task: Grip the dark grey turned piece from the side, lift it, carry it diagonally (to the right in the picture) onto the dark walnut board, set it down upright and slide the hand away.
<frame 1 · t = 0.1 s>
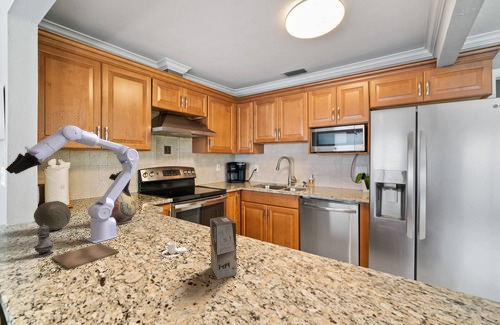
hand: (10, 171, 80), 32 cm above the countertop, tool tilted 50°, fingers open, 7 cm apart
teacup and saucer: (174, 257, 85), on the countertop
coffee box: (223, 271, 73), on the countertop
grey rounded lump: (53, 230, 118), on the countertop
dark grey turned piece: (44, 255, 87), on the countertop
walnut board: (86, 255, 86), on the countertop
ceramic jug: (123, 222, 131), on the countertop
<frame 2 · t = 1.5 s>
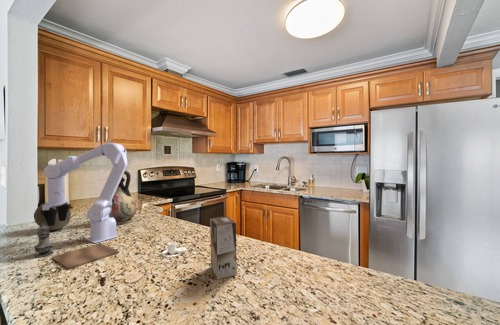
hand: (57, 223, 100), 8 cm above the countertop, tool pointing down, fingers open, 7 cm apart
nothing on the countertop moved.
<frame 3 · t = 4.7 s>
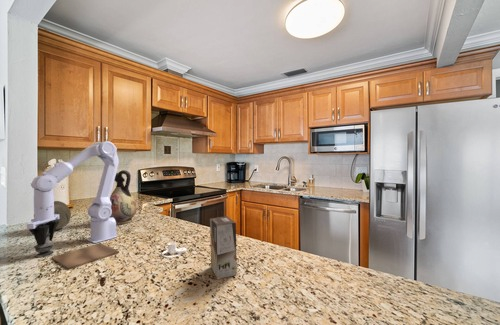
hand: (45, 242, 87), 4 cm above the countertop, tool pointing down, fingers closed on dark grey turned piece, 3 cm apart
dark grey turned piece: (44, 254, 87), on the countertop, touching gripper
everything else where it was.
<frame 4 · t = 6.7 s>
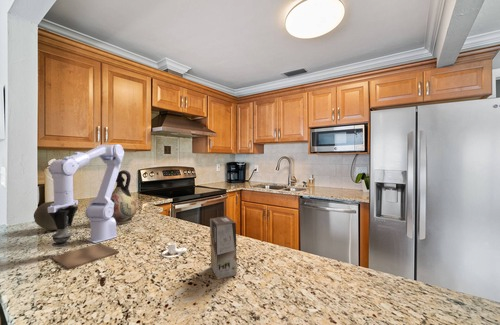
hand: (64, 227, 87), 10 cm above the countertop, tool pointing down, fingers closed on dark grey turned piece, 3 cm apart
dark grey turned piece: (61, 244, 86), point 4 cm above the countertop, touching gripper
everything else where it was.
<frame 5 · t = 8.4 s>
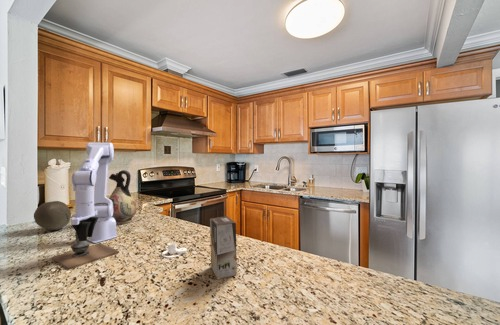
hand: (85, 238, 86), 6 cm above the countertop, tool pointing down, fingers closed on dark grey turned piece, 3 cm apart
dark grey turned piece: (80, 254, 85), resting on walnut board, touching gripper
everything else where it was.
when the fingers open (6 cm above the countertop, at t = 8.8 s): dark grey turned piece stays where it is, resting on walnut board.
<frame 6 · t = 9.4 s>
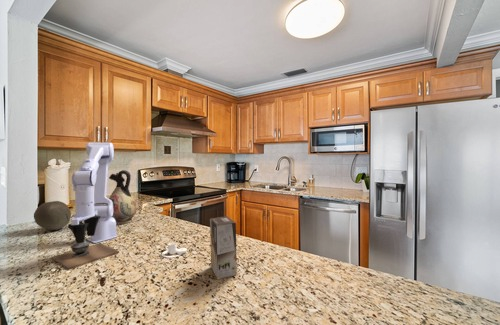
hand: (85, 239, 86), 6 cm above the countertop, tool pointing down, fingers open, 7 cm apart
dark grey turned piece: (80, 254, 85), resting on walnut board
everything else where it was.
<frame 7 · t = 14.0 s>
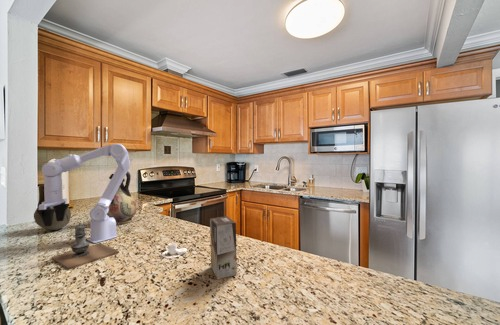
hand: (54, 223, 96), 9 cm above the countertop, tool pointing down, fingers open, 7 cm apart
nothing on the countertop moved.
at the end: dark grey turned piece inside the target area on the walnut board (1.9 cm from its centre), point 0.4 cm above the walnut board's base; dark grey turned piece tilted 0°; the gripper is holding nothing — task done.
